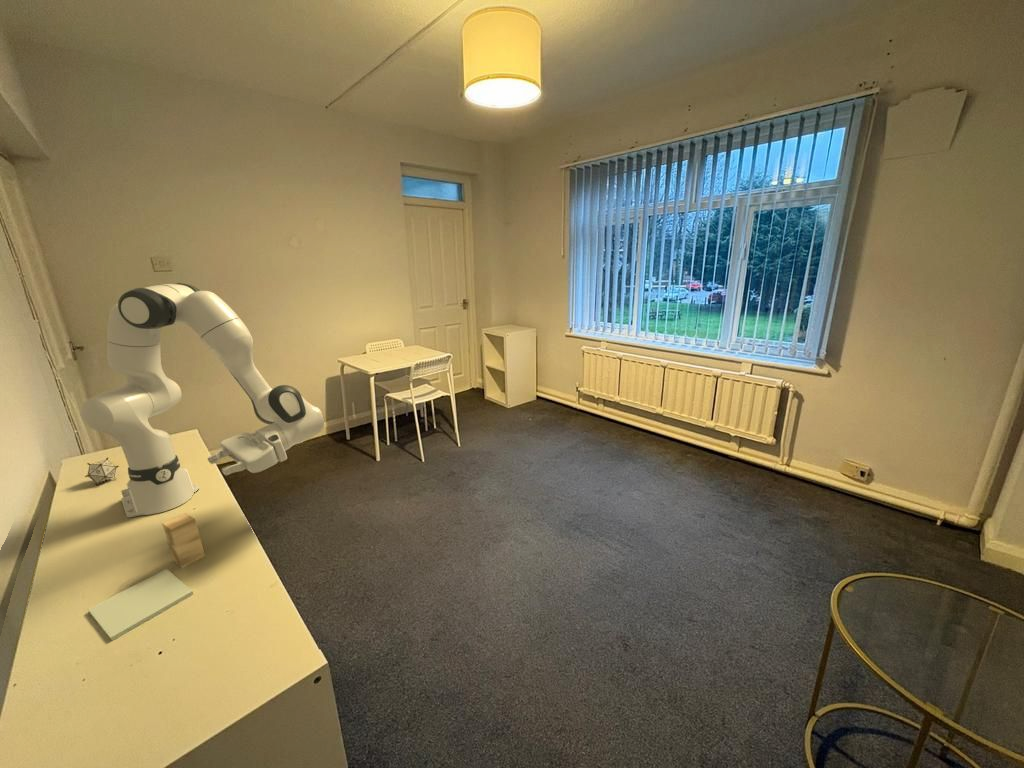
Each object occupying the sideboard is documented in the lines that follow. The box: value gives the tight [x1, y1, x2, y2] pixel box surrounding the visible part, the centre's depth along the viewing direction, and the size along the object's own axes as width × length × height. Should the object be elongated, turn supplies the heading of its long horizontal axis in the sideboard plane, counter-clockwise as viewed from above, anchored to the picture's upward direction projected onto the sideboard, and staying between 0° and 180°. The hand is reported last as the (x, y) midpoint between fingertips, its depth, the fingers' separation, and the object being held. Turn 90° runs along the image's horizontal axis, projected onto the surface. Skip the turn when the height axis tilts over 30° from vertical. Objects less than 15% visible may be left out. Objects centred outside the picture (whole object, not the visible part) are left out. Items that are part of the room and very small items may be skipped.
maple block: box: [161, 512, 206, 568], centre depth 103 cm, size 5×5×11 cm
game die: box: [84, 457, 120, 484], centre depth 144 cm, size 9×8×10 cm
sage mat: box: [87, 568, 194, 641], centre depth 91 cm, size 14×14×1 cm
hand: (216, 466), depth 108 cm, fingers open, 8 cm apart
